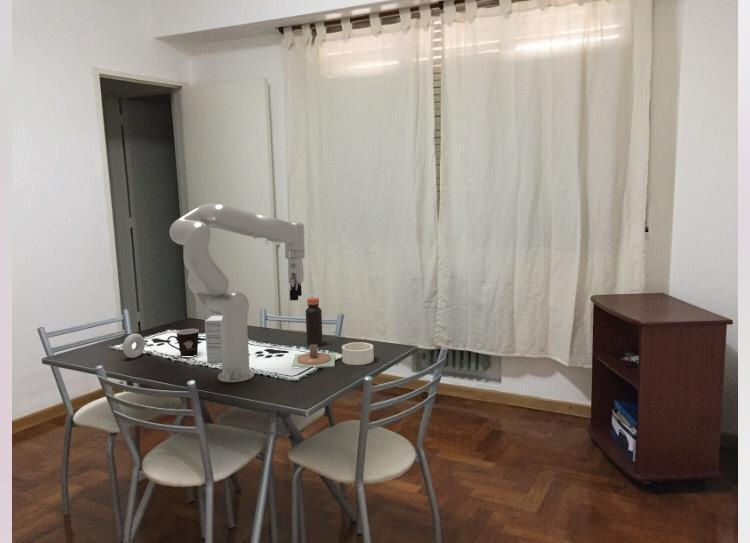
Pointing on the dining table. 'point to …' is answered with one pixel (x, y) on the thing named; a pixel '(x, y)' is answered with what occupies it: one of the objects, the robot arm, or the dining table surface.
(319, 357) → the lid
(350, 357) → the bowl
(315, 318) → the bottle
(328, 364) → the mat
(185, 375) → the dining table surface
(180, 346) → the coffee mug
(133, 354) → the donut
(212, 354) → the supplement box
